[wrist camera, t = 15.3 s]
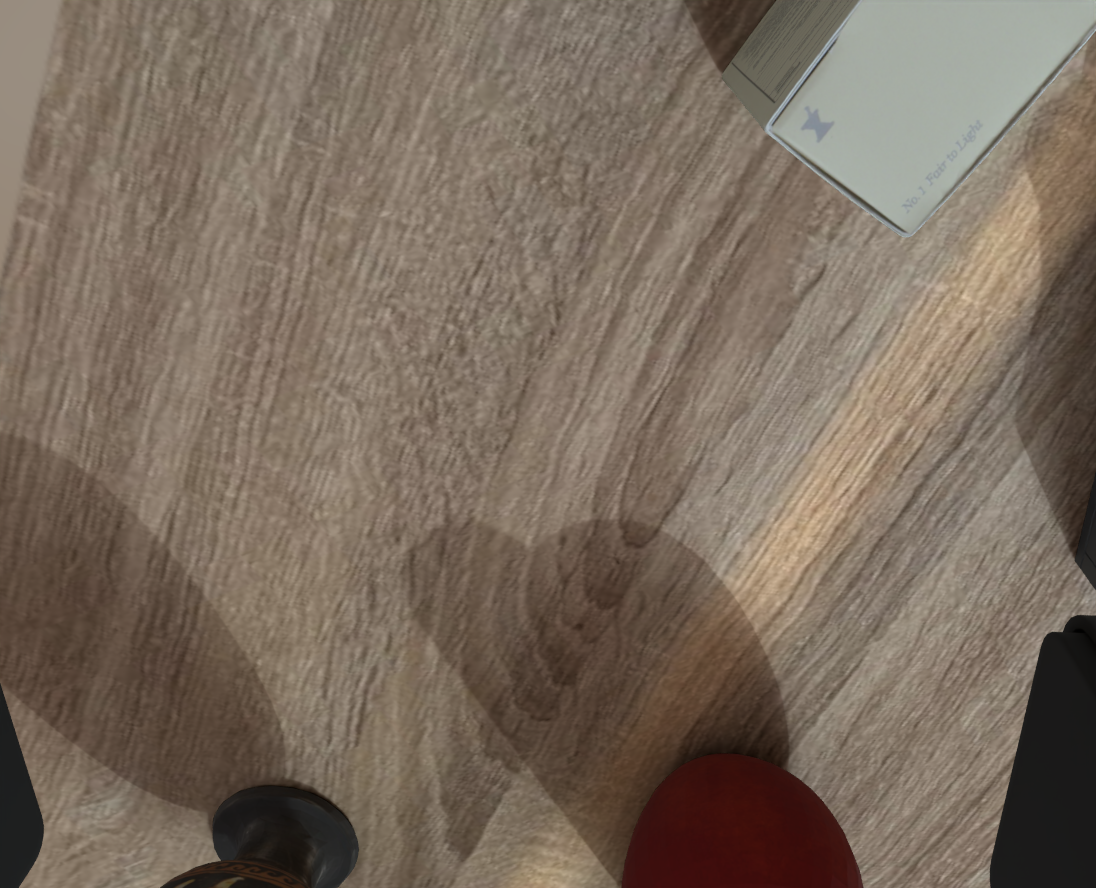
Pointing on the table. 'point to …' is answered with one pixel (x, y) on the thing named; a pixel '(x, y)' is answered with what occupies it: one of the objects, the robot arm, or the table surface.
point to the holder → (1088, 541)
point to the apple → (737, 831)
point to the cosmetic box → (902, 89)
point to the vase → (276, 843)
